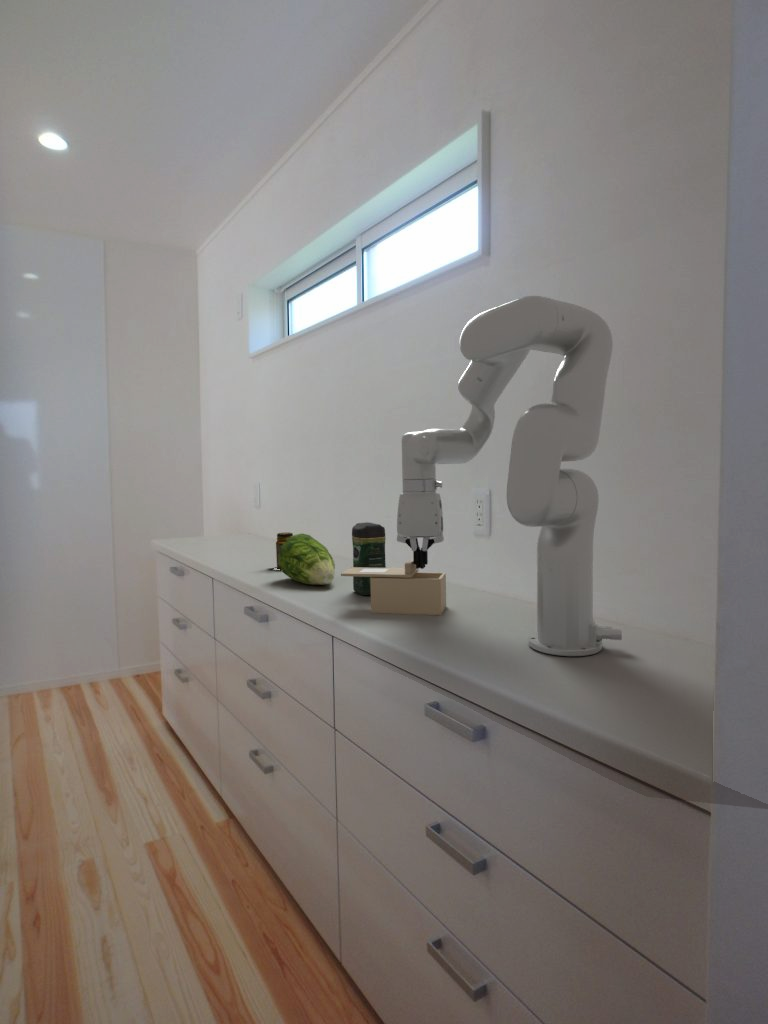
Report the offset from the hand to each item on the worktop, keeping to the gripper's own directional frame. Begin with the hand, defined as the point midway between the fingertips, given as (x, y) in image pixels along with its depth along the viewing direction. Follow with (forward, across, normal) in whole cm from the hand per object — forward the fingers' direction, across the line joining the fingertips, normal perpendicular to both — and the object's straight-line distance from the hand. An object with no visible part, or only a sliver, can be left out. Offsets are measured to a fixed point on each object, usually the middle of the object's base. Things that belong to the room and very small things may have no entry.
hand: (420, 567), depth 134 cm
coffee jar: (+10, +17, -17) cm, 26 cm away
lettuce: (+10, +38, -28) cm, 48 cm away
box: (+10, +3, 0) cm, 10 cm away
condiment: (+10, +56, -50) cm, 76 cm away
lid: (+2, +10, 0) cm, 10 cm away
